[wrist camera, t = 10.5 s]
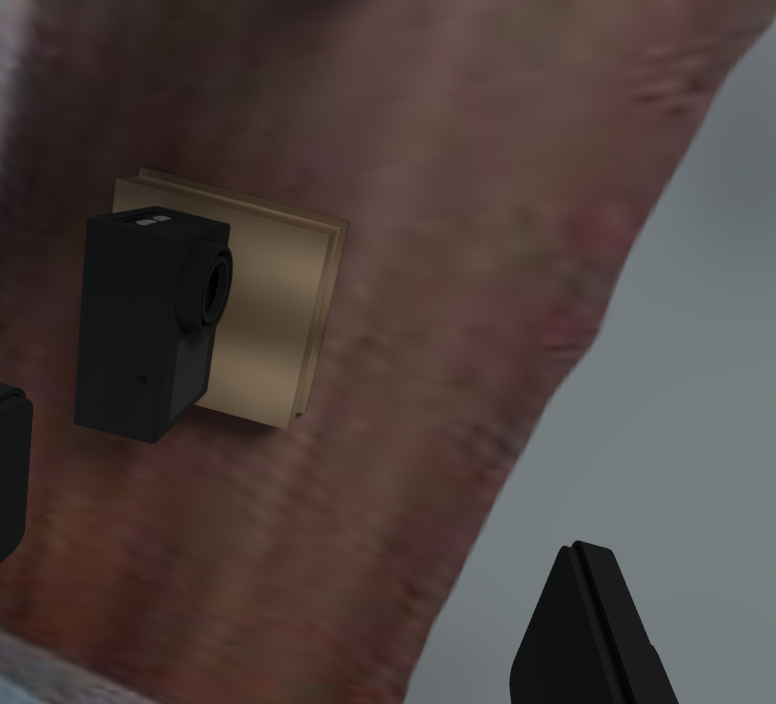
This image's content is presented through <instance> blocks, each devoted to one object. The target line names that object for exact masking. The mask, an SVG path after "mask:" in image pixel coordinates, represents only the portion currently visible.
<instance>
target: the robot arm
mask: <svg viewBox="0 0 776 704" xmlns="http://www.w3.org/2000/svg"><path fill="white" fill-rule="evenodd" d="M32 417H33V405H32V402H31V401H30V400H29V399H26V395H25V392H24V391H23V390H22V389H21V388H18V387H14V386H10V385H7V384H3V383H0V563H2V562H3V561H4V560H5V559H6V558H7V557H8V556H9V555H10V554H11V553H12V552H13V551H14V550H15V549H16V548H17V547H18V545H19V544H20V542H21V540H22V538H23V535H24V531H25V522H26V507H27V492H28V477H29V462H30V447H31V432H32ZM509 685H510V696H511V704H679V703H678V701H677V698H676V696H675V693H674V691H673V689H672V686H671V684H670V682H669V679H668V677H667V674H666V672H665V670H664V667H663V665H662V663H661V660H660V658H659V655H658V653H657V652H656V650H655V648H654V647H653V646H652V645H651V644H650V641H649V639H648V636H647V634H646V631H645V629H644V627H643V624H642V622H641V619H640V617H639V614H638V612H637V610H636V607H635V605H634V602H633V600H632V597H631V595H630V592H629V590H628V588H627V585H626V583H625V580H624V578H623V575H622V573H621V570H620V568H619V566H618V563H617V561H616V558H615V556H614V554H613V552H612V550H610V549H608V548H604V547H600V546H597V545H593V544H590V543H586V542H582V541H578V540H577V541H575V542H574V543H573V544H572V546H571V547H568V546H562V547H561V549H560V551H559V552H558V555H557V557H556V560H555V562H554V564H553V567H552V569H551V572H550V574H549V577H548V579H547V582H546V584H545V586H544V589H543V591H542V594H541V596H540V599H539V601H538V603H537V606H536V608H535V611H534V613H533V615H532V618H531V620H530V623H529V625H528V628H527V630H526V633H525V635H524V637H523V640H522V642H521V645H520V647H519V649H518V652H517V655H516V657H515V659H514V662H513V665H512V668H511V673H510V683H509Z"/></svg>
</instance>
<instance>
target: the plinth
mask: <svg viewBox="0 0 776 704" xmlns="http://www.w3.org/2000/svg"><path fill="white" fill-rule="evenodd" d="M151 206H160V207H164V208H168V209H172V210H176V211H180V212H184V213H188V214H192V215H196V216H200V217H204V218H208V219H212V220H216V221H220V222H224V223H228V224H230V227H231V228H230V235H229V242H228V247H229V249H230V250H231V253H232V257H233V277H232V284H231V289H230V294H229V298H228V301H227V304H226V307H225V310H224V313H223V315H222V317H221V319H220V321H219V323H218V325H217V327H216V333H215V340H214V347H213V354H212V361H211V368H210V375H209V382H208V389H207V392H206V393H205V394H204V395H203V396H202V397H201V398H200V399H199V400H198V401H197V402H196V403H195V404H194V405H198V406H201V407H205V408H209V409H212V410H216V411H220V412H223V413H227V414H231V415H234V416H238V417H242V418H245V419H249V420H253V421H257V422H260V423H264V424H268V425H271V426H275V427H279V428H282V429H286V430H287V429H288V428H289V426H290V424H291V422H292V421H293V419H294V417H295V415H296V414H297V413H301V414H304V415H305V413H306V411H307V407H308V403H309V399H310V394H311V390H312V385H313V381H314V377H315V372H316V368H317V363H318V359H319V355H320V350H321V346H322V342H323V337H324V333H325V328H326V324H327V320H328V315H329V311H330V306H331V302H332V298H333V293H334V289H335V284H336V280H337V276H338V271H339V267H340V262H341V258H342V254H343V249H344V245H345V240H346V236H347V232H348V227H349V223H350V222H348V221H344V220H340V219H336V218H333V217H329V216H325V215H322V214H318V213H314V212H310V211H307V210H303V209H299V208H295V207H292V206H288V205H284V204H280V203H277V202H273V201H269V200H266V199H262V198H258V197H254V196H251V195H247V194H243V193H239V192H236V191H232V190H228V189H224V188H221V187H217V186H213V185H209V184H206V183H202V182H198V181H195V180H191V179H187V178H183V177H180V176H176V175H172V174H168V173H165V172H161V171H157V170H153V169H150V168H146V167H139V176H137V177H124V178H116V183H115V193H114V203H113V213H117V212H123V211H128V210H134V209H140V208H146V207H151Z"/></svg>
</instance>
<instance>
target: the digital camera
mask: <svg viewBox="0 0 776 704" xmlns="http://www.w3.org/2000/svg"><path fill="white" fill-rule="evenodd" d="M230 228H231V227H230V224H228V223H224V222H220V221H216V220H212V219H208V218H204V217H200V216H196V215H192V214H188V213H184V212H180V211H176V210H172V209H168V208H164V207H160V206H151V207H146V208H140V209H134V210H128V211H123V212H117V213H111V214H105V215H100V216H95V217H91V218H88V219H87V232H86V245H85V259H84V273H83V288H82V303H81V318H80V333H79V348H78V364H77V381H76V397H75V414H74V423H75V424H77V425H80V426H84V427H89V428H92V429H96V430H100V431H104V432H108V433H112V434H116V435H120V436H124V437H128V438H132V439H136V440H140V441H144V442H148V443H156V442H157V441H158V440H159V439H160V438H161V437H162V436H163V435H165V434H166V433H167V432H168V431H169V430H170V429H171V428H172V427H173V426H174V425H175V424H176V423H177V422H178V421H179V420H180V419H181V418H182V416H183V415H184V414H185V413H186V412H187V411H188V410H189V409H190V408H191V407H192V406H193V405H194V404H195V403H196V402H197V401H198V400H199V399H200V398H201V397H202V396H203V395H204V394H205V393H206V392H207V389H208V382H209V375H210V368H211V361H212V354H213V347H214V340H215V333H216V327H217V325H218V323H219V321H220V319H221V317H222V315H223V313H224V310H225V307H226V304H227V301H228V298H229V294H230V289H231V284H232V277H233V257H232V253H231V250H230V249H229V247H228V242H229V235H230Z"/></svg>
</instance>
